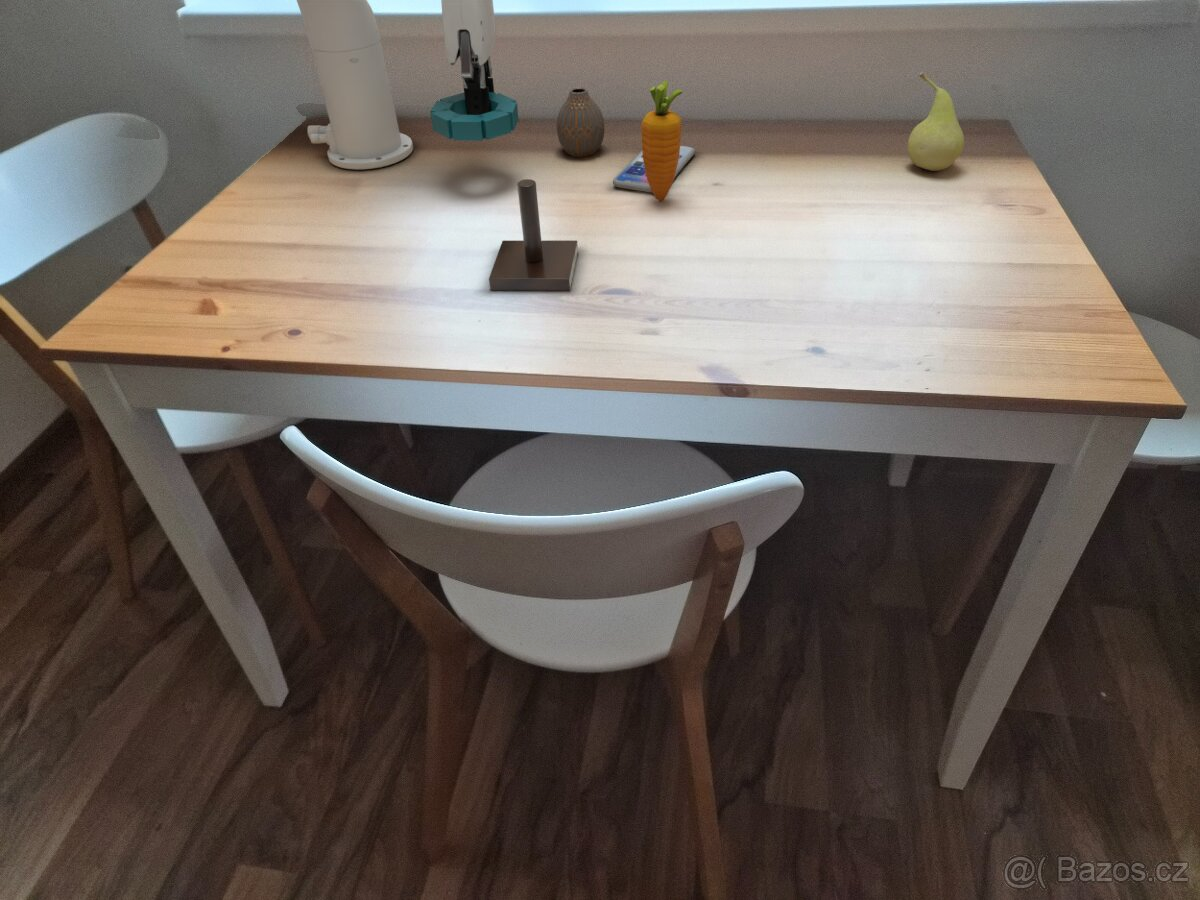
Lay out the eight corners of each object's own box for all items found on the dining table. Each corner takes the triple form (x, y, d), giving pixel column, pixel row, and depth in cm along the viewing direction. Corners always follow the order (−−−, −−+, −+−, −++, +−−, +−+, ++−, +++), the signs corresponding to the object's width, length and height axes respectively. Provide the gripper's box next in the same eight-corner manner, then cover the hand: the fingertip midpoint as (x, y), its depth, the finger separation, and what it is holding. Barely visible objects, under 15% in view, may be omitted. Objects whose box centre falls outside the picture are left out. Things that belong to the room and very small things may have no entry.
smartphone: (697, 146, 116) (661, 188, 106) (697, 153, 117) (661, 195, 107) (649, 140, 118) (609, 180, 108) (649, 146, 119) (609, 187, 109)
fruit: (949, 183, 106) (973, 88, 98) (892, 172, 109) (911, 79, 101) (962, 164, 110) (986, 72, 102) (907, 155, 113) (926, 64, 105)
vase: (607, 143, 121) (605, 81, 115) (602, 161, 116) (600, 98, 110) (562, 143, 122) (557, 82, 116) (555, 161, 117) (550, 98, 111)
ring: (426, 139, 103) (423, 121, 102) (445, 109, 111) (442, 91, 110) (509, 141, 103) (508, 122, 101) (522, 110, 111) (521, 92, 109)
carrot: (656, 190, 108) (657, 72, 98) (687, 199, 106) (691, 79, 96) (633, 204, 105) (632, 83, 95) (664, 213, 103) (666, 91, 93)
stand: (490, 290, 90) (477, 201, 83) (503, 251, 97) (492, 166, 90) (570, 290, 90) (563, 200, 83) (578, 251, 96) (572, 165, 89)
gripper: (448, -56, 104) (466, 92, 116) (417, -27, 92) (441, 135, 104) (506, -56, 103) (518, 93, 116) (482, -26, 91) (498, 136, 104)
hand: (481, 111), depth 110 cm, fingers closed on ring, 2 cm apart
